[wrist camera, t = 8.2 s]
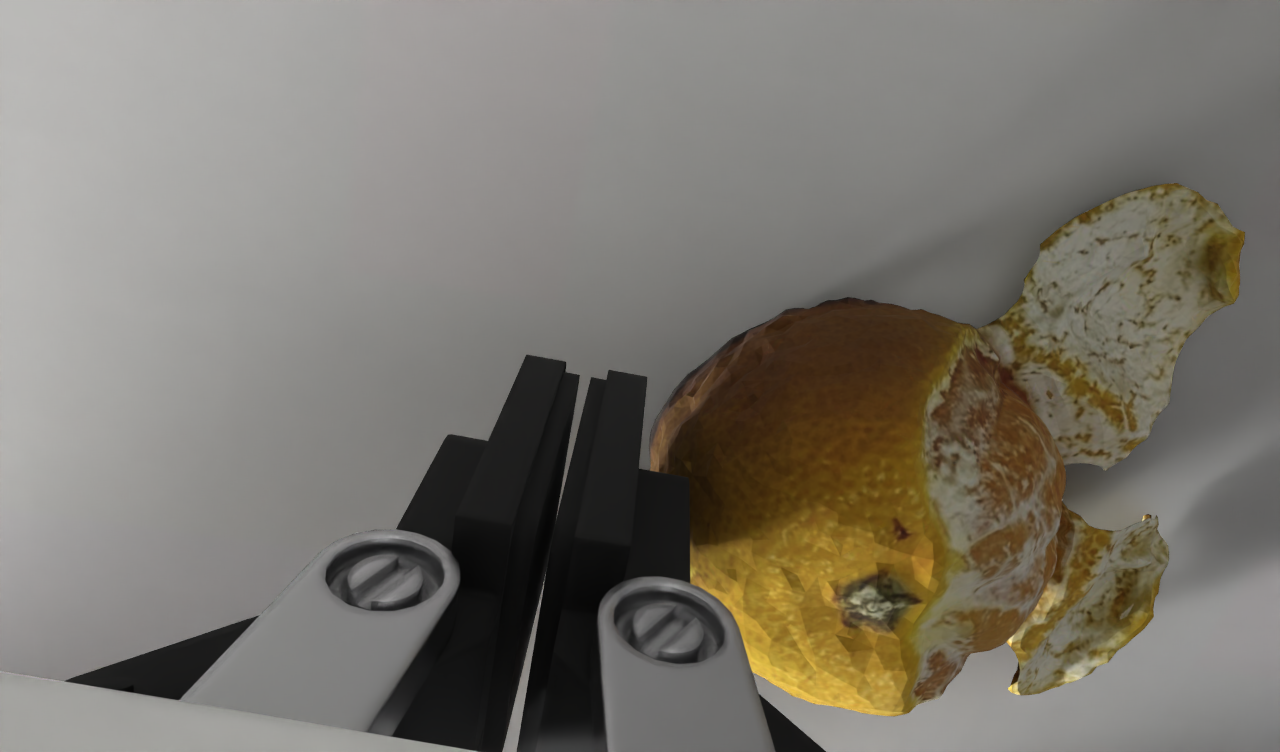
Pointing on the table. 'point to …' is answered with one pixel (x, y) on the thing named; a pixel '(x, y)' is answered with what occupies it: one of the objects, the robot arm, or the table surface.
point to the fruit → (945, 465)
